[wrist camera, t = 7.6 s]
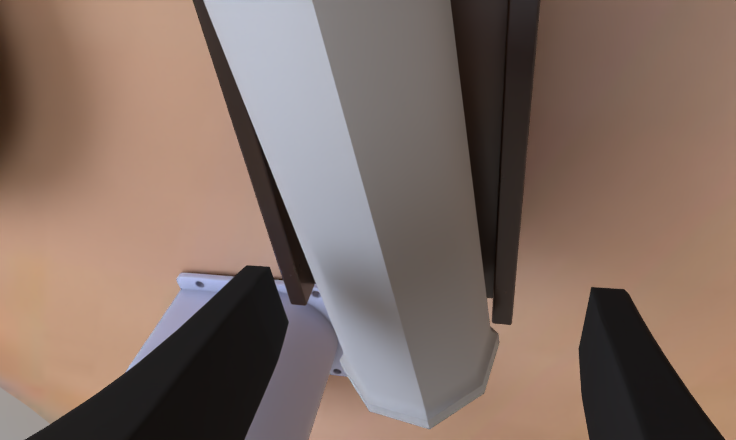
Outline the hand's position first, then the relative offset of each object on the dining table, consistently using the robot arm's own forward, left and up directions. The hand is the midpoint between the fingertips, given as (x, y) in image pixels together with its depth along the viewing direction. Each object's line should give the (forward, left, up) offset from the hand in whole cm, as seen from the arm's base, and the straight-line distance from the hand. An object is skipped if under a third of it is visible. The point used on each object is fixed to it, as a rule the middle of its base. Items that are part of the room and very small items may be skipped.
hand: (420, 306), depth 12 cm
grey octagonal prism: (-2, +6, -6) cm, 9 cm away
